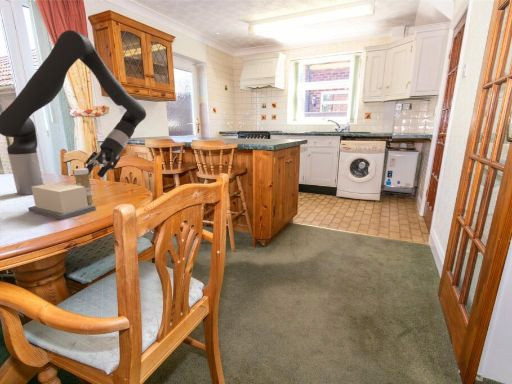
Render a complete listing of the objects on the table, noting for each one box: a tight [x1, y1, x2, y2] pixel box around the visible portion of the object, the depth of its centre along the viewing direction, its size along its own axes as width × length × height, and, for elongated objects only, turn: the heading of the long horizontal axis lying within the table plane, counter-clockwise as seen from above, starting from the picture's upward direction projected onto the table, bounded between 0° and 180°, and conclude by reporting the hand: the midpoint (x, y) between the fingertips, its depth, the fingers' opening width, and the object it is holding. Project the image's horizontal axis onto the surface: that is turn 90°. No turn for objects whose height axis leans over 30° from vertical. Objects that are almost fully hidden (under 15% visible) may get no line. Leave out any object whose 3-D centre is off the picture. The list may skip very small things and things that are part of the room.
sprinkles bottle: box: [73, 167, 94, 205], centre depth 97 cm, size 5×5×13 cm
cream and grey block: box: [27, 181, 97, 221], centre depth 89 cm, size 19×11×9 cm, turn 65°
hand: (92, 175), depth 99 cm, fingers open, 8 cm apart
